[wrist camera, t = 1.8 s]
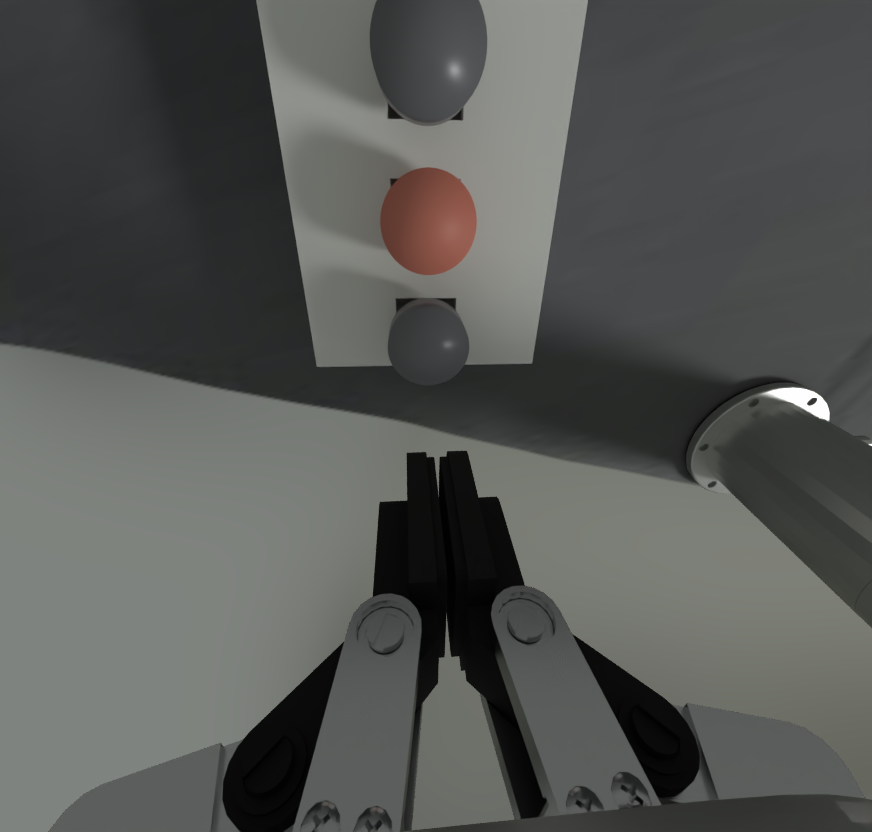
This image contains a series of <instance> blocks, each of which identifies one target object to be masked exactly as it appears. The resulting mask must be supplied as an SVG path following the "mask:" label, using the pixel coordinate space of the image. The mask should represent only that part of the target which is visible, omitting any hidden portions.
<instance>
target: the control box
mask: <svg viewBox="0 0 872 832" xmlns="http://www.w3.org/2000/svg"><path fill="white" fill-rule="evenodd" d="M376 1H377V0H256V2H257V8H258V14H259V20H260V26H261V32H262V38H263V44H264V50H265V56H266V62H267V68H268V74H269V80H270V86H271V92H272V99H273V105H274V111H275V117H276V123H277V129H278V135H279V141H280V147H281V153H282V159H283V165H284V171H285V177H286V183H287V189H288V195H289V201H290V207H291V214H292V220H293V226H294V232H295V238H296V244H297V250H298V256H299V262H300V268H301V274H302V280H303V286H304V292H305V298H306V304H307V310H308V316H309V322H310V329H311V335H312V341H313V347H314V353H315V359H316V365H317V367H345V366H392V364H391V362H390V359H389V355H388V338H389V330H390V325H391V322H392V320H393V318H394V316H395V315H396V313H397V312H398V311H399V310H400V309H401V308H402V307H403V306H404V305H406V304H407V303H409V302H411V301H414V300H416V299H421V298H434V299H438V300H441V301H443V302H445V303H447V304H449V305H450V306H452V307H453V308H454V309H455V310H456V312H457V313H458V314H459V316H460V317H461V320H462V322H463V324H464V327H465V329H466V332H467V335H468V338H469V354H468V358H467V360H466V363H465V365H476V364H532V361H533V355H534V348H535V341H536V335H537V328H538V322H539V315H540V309H541V302H542V296H543V289H544V283H545V276H546V270H547V263H548V257H549V250H550V244H551V237H552V231H553V224H554V218H555V211H556V205H557V198H558V192H559V185H560V179H561V172H562V166H563V159H564V153H565V146H566V140H567V133H568V127H569V120H570V114H571V107H572V101H573V94H574V88H575V81H576V75H577V68H578V62H579V55H580V49H581V42H582V36H583V29H584V23H585V16H586V10H587V3H588V0H479V2H480V4H481V7H482V10H483V13H484V17H485V22H486V28H487V55H486V61H485V66H484V70H483V73H482V76H481V79H480V81H479V84H478V86H477V88H476V89H475V91H474V93H473V95H472V96H471V97H470V99H469V100H468V101H467V103H466V104H465V105H464V107H463V108H462V109H461V110H460V111H459V112H458V114H456V115H455V116H454V117H453V118H452V119H450V120H448V121H446V122H444V123H442V124H439V125H435V126H420V125H416V124H413V123H411V122H409V121H407V120H405V119H404V118H402V117H401V116H400V115H399V114H397V113H396V112H395V111H394V109H393V108H392V107H391V106H390V105H389V103H388V102H387V100H386V99H385V97H384V95H383V93H382V91H381V88H380V86H379V83H378V80H377V77H376V73H375V70H374V67H373V63H372V58H371V51H370V24H371V18H372V13H373V10H374V6H375V3H376ZM426 167H431V168H438V169H442V170H444V171H447V172H449V173H451V174H452V175H454V176H455V177H456V178H458V179H459V180H460V181H461V182H462V183H463V184H464V186H465V187H466V188H467V190H468V191H469V193H470V195H471V197H472V200H473V202H474V205H475V210H476V217H477V226H476V233H475V238H474V241H473V243H472V246H471V248H470V250H469V252H468V253H467V255H466V256H465V257H464V258H463V260H462V261H461V262H460V263H459V264H457V265H456V266H455V267H453V268H452V269H450V270H448V271H446V272H444V273H441V274H436V275H421V274H417V273H414V272H411V271H409V270H407V269H405V268H404V267H403V266H401V265H400V264H399V263H398V262H397V261H396V260H395V259H394V258H393V257H392V256H391V254H390V253H389V251H388V249H387V247H386V245H385V243H384V240H383V237H382V233H381V226H380V216H381V209H382V205H383V202H384V199H385V196H386V195H387V193H388V191H389V189H390V188H391V187H392V185H393V184H394V183H395V182H396V181H397V180H398V179H399V178H400V177H402V176H403V175H404V174H406V173H408V172H410V171H412V170H415V169H419V168H426Z"/></svg>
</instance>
